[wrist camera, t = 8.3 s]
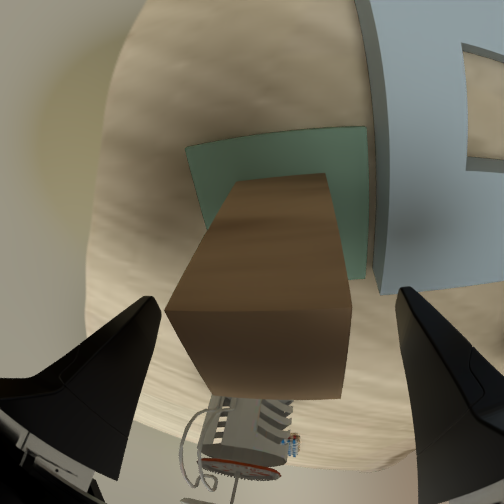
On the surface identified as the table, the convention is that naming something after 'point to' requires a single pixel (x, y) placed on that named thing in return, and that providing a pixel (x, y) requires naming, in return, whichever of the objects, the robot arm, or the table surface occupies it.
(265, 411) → the french press
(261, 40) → the table surface
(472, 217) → the pocket board
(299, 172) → the green pad
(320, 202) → the walnut block
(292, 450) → the woven mat
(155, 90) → the table surface
